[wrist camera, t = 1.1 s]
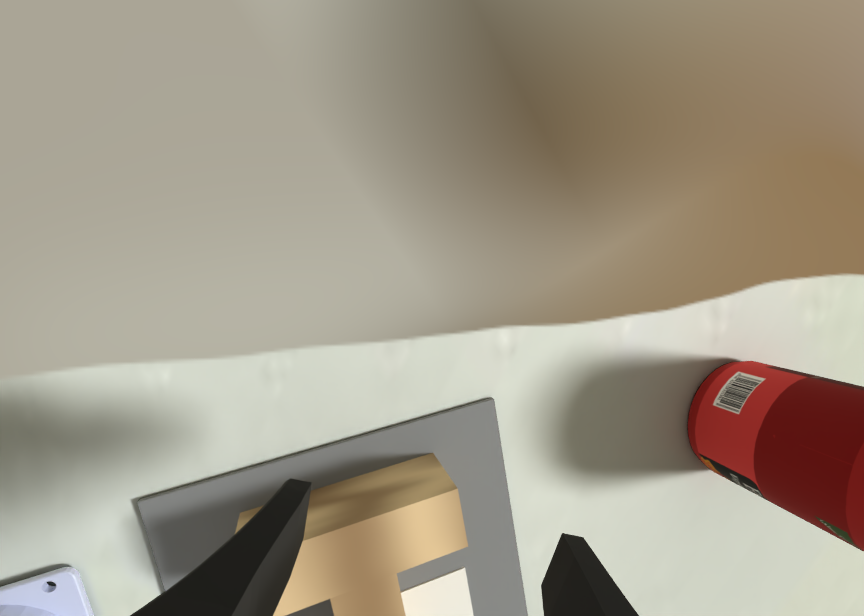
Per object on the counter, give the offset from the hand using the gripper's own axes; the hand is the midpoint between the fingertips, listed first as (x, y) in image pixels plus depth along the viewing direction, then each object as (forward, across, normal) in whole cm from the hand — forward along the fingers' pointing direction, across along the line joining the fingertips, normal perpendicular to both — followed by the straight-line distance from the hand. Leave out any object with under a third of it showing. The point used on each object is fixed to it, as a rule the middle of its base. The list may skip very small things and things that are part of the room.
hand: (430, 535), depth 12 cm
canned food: (+18, -21, +2) cm, 27 cm away
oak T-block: (+8, +2, +11) cm, 14 cm away
